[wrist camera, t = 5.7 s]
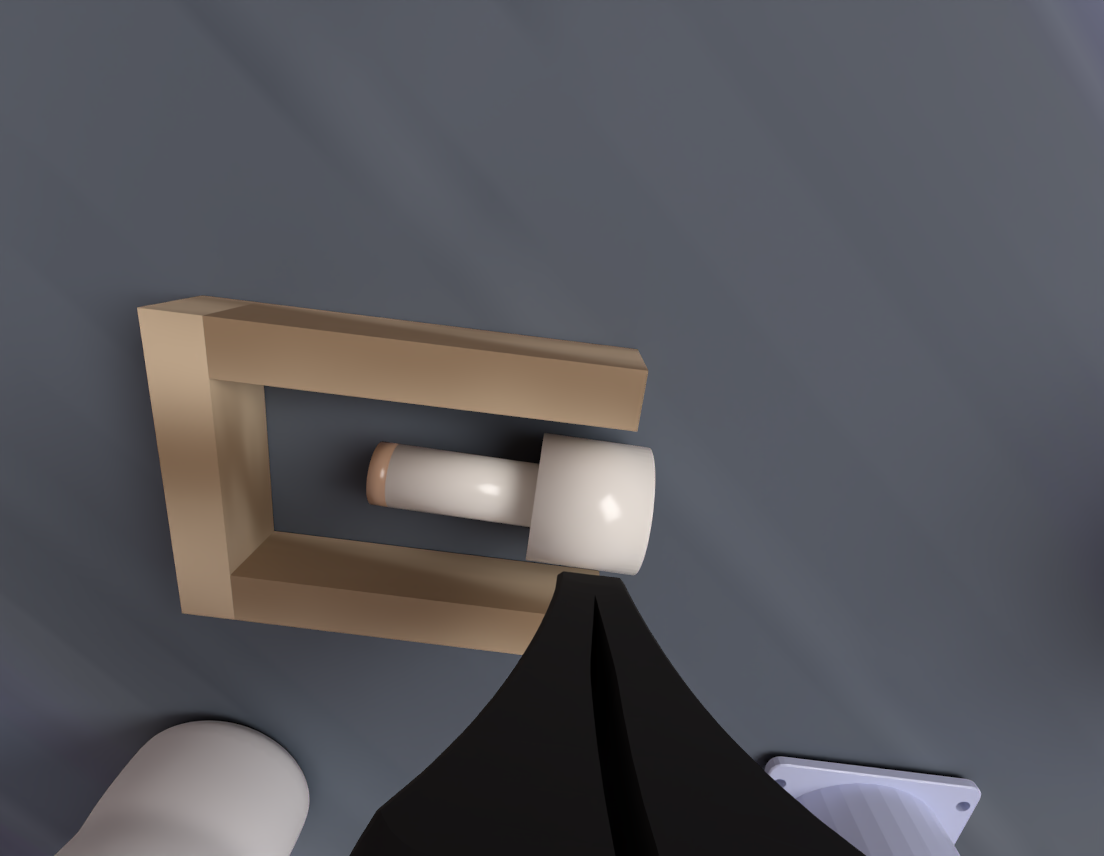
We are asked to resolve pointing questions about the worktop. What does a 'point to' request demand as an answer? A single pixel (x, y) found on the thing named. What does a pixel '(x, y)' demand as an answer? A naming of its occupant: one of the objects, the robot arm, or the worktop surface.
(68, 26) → the worktop surface
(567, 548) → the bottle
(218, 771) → the water bottle
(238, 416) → the cradle
